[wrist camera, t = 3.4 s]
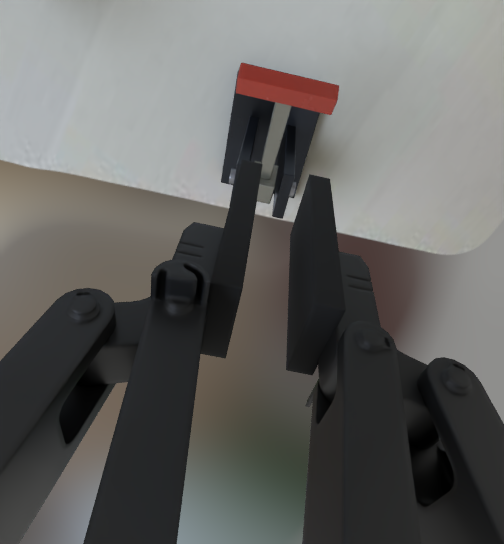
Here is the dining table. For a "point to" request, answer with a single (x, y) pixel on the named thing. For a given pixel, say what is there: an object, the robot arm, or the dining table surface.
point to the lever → (282, 110)
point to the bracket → (252, 137)
